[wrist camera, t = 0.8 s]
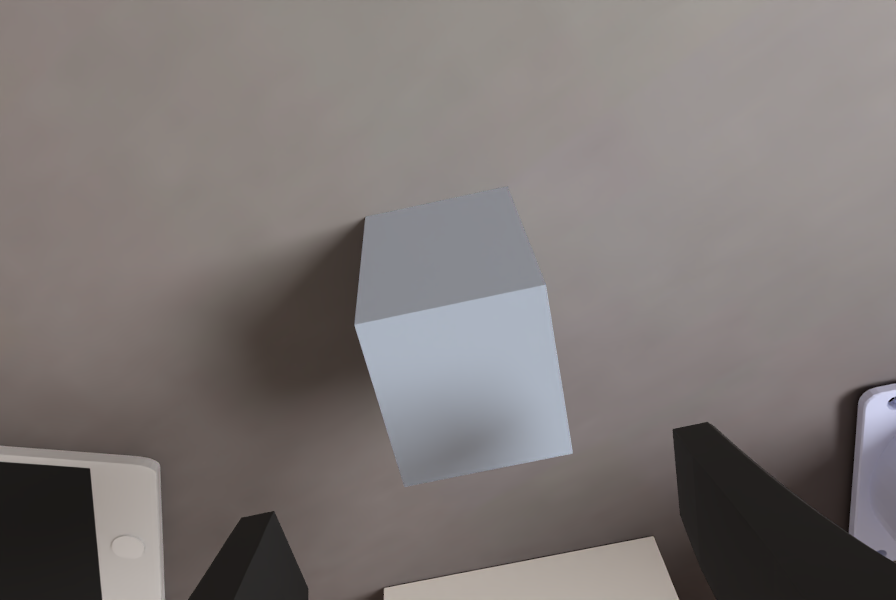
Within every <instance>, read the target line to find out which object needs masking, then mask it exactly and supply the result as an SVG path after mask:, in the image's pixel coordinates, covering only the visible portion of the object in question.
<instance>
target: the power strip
mask: <svg viewBox="0 0 896 600" xmlns="http://www.w3.org/2000/svg"><path fill="white" fill-rule="evenodd" d="M384 600H679V598H678V596H677V593H676V591H675V588H674V586H673V584H672V581H671V579H670V576H669V574H668V571H667V569H666V566H665V564H664V561H663V559H662V556H661V554H660V551H659V549H658V546H657V544H656V541H655V539H654V536H651V537H646V538H641V539H636V540H630V541H625V542H620V543H615V544H610V545H605V546H599V547H594V548H589V549H584V550H579V551H573V552H568V553H563V554H558V555H553V556H547V557H542V558H537V559H532V560H527V561H522V562H516V563H511V564H506V565H501V566H496V567H490V568H485V569H480V570H475V571H470V572H465V573H459V574H454V575H449V576H444V577H439V578H433V579H428V580H423V581H418V582H413V583H407V584H402V585H397V586H392V587H387V588H384Z"/></svg>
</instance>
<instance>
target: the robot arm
mask: <svg viewBox="0 0 896 600" xmlns="http://www.w3.org/2000/svg"><path fill="white" fill-rule="evenodd" d="M894 397H895V398H894ZM891 398H894V399H893V400H892V401H890V402H888V401H889V400H890V399H891ZM673 439H674V451H675V462H676V474H677V485H678V497H679V508H680V516H681V518H682V521H683V524H684V526H685V529H686V532H687V534H688V537H689V540H690V542H691V545H692V548H693V550H694V553H695V555H696V558H697V560H698V563H699V565H700V568H701V570H702V572H703V574H704V576H705V578H706V580H707V582H708V584H709V586H710V588H711V590H712V592H713V593H714V595H715V597H716V599H717V600H896V563H895V562H893V561H896V383H895V384H890V385H885V386H880V387H875V388H872V389H869V390H867V391H866V392H865V393H863V395H862V396H861V397H860V399H859V402H858V414H857V427H856V441H855V454H854V468H853V481H852V495H851V508H850V522H849V533H848V532H846V531H845V530H843V529H842V528H841V527H839V526H838V525H836V524H835V523H833V522H832V521H830V520H829V519H828V518H826V517H825V516H823V515H822V514H821V513H819V512H818V511H817V510H815V509H814V508H812V507H811V506H810V505H808V504H807V503H806V502H804V501H803V500H802V499H801V498H799V497H798V496H797V495H795V494H794V493H793V492H791V491H790V490H789V489H788V488H786V487H785V486H784V485H782V484H781V483H780V482H779V481H777V480H776V479H775V478H774V477H772V476H771V475H770V474H769V473H767V472H766V471H765V470H764V469H763V468H761V467H760V466H759V465H758V464H757V463H755V462H754V461H753V460H752V459H751V458H749V457H748V456H747V455H746V454H745V453H744V452H742V451H741V450H740V449H739V448H738V447H737V446H736V445H734V444H733V443H732V442H731V441H730V440H729V439H728V438H726V437H725V436H724V435H723V434H722V433H721V432H720V431H719V430H718V429H716V428H715V427H714V426H713V425H711V424H710V423H708V422H705V423H700V424H695V425H691V426H686V427H681V428H676V429H673ZM188 600H308V587H307V585H306V582H305V580H304V578H303V575H302V573H301V571H300V569H299V566H298V564H297V562H296V560H295V557H294V555H293V553H292V551H291V548H290V546H289V544H288V541H287V539H286V537H285V535H284V532H283V530H282V528H281V526H280V523H279V521H278V519H277V517H276V514H275V512H274V511H272V512H268V513H263V514H258V515H253V516H248V517H243V518H241V519H240V521H239V522H238V524H237V525H236V527H235V528H234V530H233V531H232V533H231V534H230V536H229V537H228V539H227V541H226V542H225V544H224V545H223V547H222V548H221V550H220V551H219V553H218V555H217V556H216V558H215V559H214V561H213V562H212V564H211V565H210V567H209V569H208V570H207V572H206V573H205V575H204V576H203V578H202V579H201V581H200V583H199V584H198V586H197V587H196V589H195V590H194V592H193V593H192V595H191V596H190V598H189V599H188Z"/></svg>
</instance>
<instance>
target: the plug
mask: <svg viewBox="0 0 896 600" xmlns="http://www.w3.org/2000/svg"><path fill="white" fill-rule="evenodd" d="M354 325H355V329H356V332H357V335H358V338H359V341H360V345H361V348H362V351H363V354H364V358H365V361H366V364H367V367H368V371H369V374H370V377H371V380H372V384H373V387H374V390H375V393H376V396H377V400H378V403H379V406H380V409H381V413H382V416H383V419H384V422H385V426H386V429H387V432H388V435H389V439H390V442H391V445H392V448H393V452H394V455H395V458H396V461H397V464H398V468H399V471H400V474H401V477H402V481H403V484H404V487H407V486H412V485H417V484H422V483H427V482H432V481H437V480H442V479H447V478H452V477H457V476H462V475H467V474H472V473H477V472H482V471H487V470H492V469H497V468H502V467H507V466H512V465H517V464H522V463H527V462H532V461H537V460H542V459H547V458H552V457H557V456H562V455H567V454H572V453H573V451H572V445H571V439H570V432H569V426H568V420H567V414H566V407H565V401H564V395H563V389H562V382H561V376H560V370H559V364H558V357H557V351H556V345H555V339H554V333H553V326H552V320H551V314H550V308H549V301H548V295H547V289H546V284H545V281H544V279H543V276H542V274H541V271H540V268H539V266H538V263H537V261H536V258H535V256H534V253H533V251H532V248H531V245H530V243H529V240H528V238H527V235H526V233H525V230H524V227H523V225H522V222H521V220H520V217H519V215H518V212H517V210H516V207H515V204H514V202H513V199H512V197H511V194H510V192H509V189H508V186H506V187H502V188H497V189H493V190H488V191H483V192H479V193H474V194H469V195H465V196H460V197H456V198H451V199H446V200H442V201H437V202H432V203H428V204H423V205H418V206H414V207H409V208H405V209H400V210H395V211H391V212H386V213H381V214H377V215H372V216H367V217H365V226H364V235H363V245H362V255H361V265H360V275H359V284H358V294H357V304H356V314H355V323H354Z"/></svg>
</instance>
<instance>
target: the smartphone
mask: <svg viewBox="0 0 896 600" xmlns="http://www.w3.org/2000/svg"><path fill="white" fill-rule="evenodd" d="M0 600H165V586H164V558H163V531H162V503H161V475H160V464H159V463H158V462H157V461H155V460H153V459H150V458H147V457H140V456H129V455H116V454H103V453H90V452H77V451H64V450H50V449H37V448H24V447H11V446H0Z"/></svg>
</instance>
